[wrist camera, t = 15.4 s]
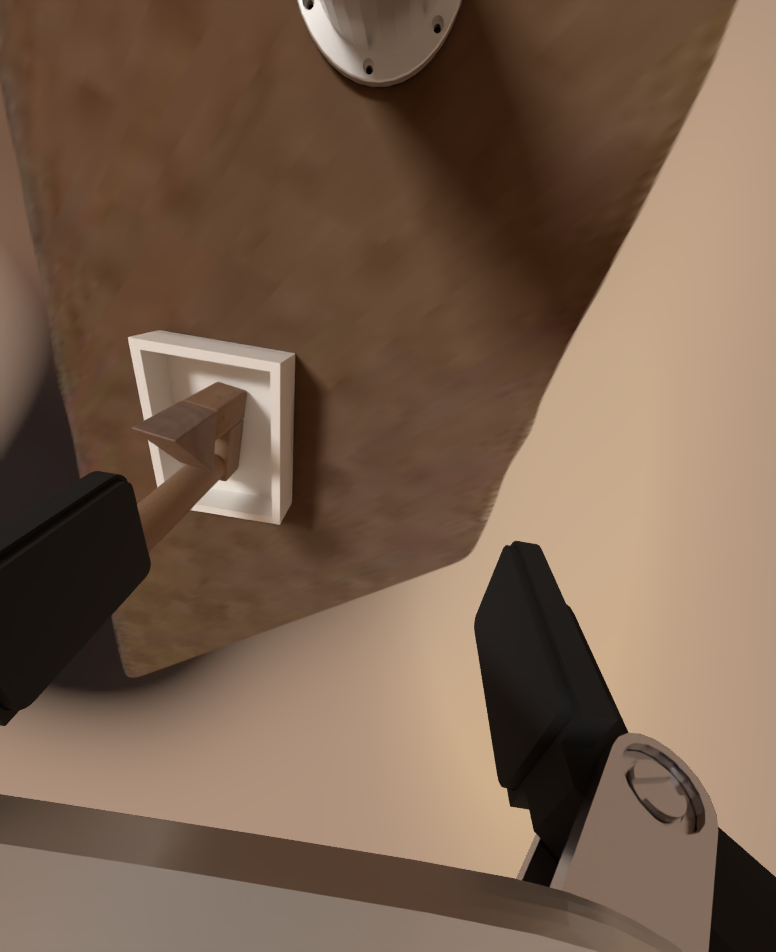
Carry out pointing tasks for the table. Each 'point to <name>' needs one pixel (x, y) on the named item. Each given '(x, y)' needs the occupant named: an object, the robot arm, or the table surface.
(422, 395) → the table surface
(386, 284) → the table surface
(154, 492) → the brown rod with wedge
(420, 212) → the table surface
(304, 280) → the table surface
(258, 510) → the tray
